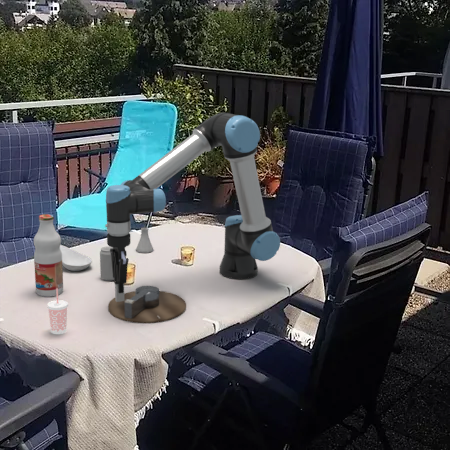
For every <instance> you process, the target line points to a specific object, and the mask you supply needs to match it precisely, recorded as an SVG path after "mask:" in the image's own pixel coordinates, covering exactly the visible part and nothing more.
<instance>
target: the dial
mask: <svg viewBox="0 0 450 450" xmlns="http://www.w3.org/2000/svg"><path fill="white" fill-rule="evenodd" d="M134 291H135V296H134V297H132V298H131V299H127V300H125V317H126V318H131V319H132V318H133V317H134V316H136V315H137V314H138V313H140V312H141V311H142V310H144V309H145V308H154V307H157V306H158V305H159V291H160V288H159V287H157V286H154V285H142V286H139V287H137V288H136V289H135V290H134Z"/></svg>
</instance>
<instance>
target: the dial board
mask: <svg viewBox="0 0 450 450" xmlns="http://www.w3.org/2000/svg"><path fill="white" fill-rule="evenodd" d="M134 296H135V290H133V291H129V292H124V301H120V302H116V301H115V297H113V298H112V299H111V300H109V302H108V306H107V307H108V309H107V310H108V312H109V313H110V315H111V316H113V317H114V318H116V319H118V320H120V321H124V322H128V323H134V324H156V323H162V322H168V321H172V320H174V319H176V318H178V317H180V316H181V315H183V314H185V311H186V310H187V302H186V301H185V299H184V298H183V297H181V296H179V295H178V294H175V293H172V292H169V291H163V290H159V305H158V306H157V307H154V308H145V309H144V310H142V311H141V312H140V313H138V314H137V315H136V316H134V317H133V318H132V319H131V318H126V317H125V300H127V299H131V298H132V297H134Z"/></svg>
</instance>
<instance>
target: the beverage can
mask: <svg viewBox="0 0 450 450" xmlns="http://www.w3.org/2000/svg"><path fill="white" fill-rule="evenodd" d="M112 248H113V247H110V246H104V247H101V248H100V251H99V265H100V266H99V267H100V269H99V270H100V273H99V274H100V279H101V280H102V281H105V282H111V281H115V280H114V278H113V272H112V261H111V252H110V249H112Z"/></svg>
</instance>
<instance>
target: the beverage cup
mask: <svg viewBox="0 0 450 450" xmlns="http://www.w3.org/2000/svg"><path fill="white" fill-rule="evenodd" d="M55 297H56V300H52V301H48V303H46V305H47V309H48V316H49V325H50V326H49V327H50V333H51V334H53V335H62V334H65V333H66V332H67V328H68V327H67V325H68V324H67V323H68V320H67V319H68V318H67V317H68V307H69V302H68V301H67V300H65V299H64V300H63V299H62V300H61V299H59V295H58V288H56V296H55Z"/></svg>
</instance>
